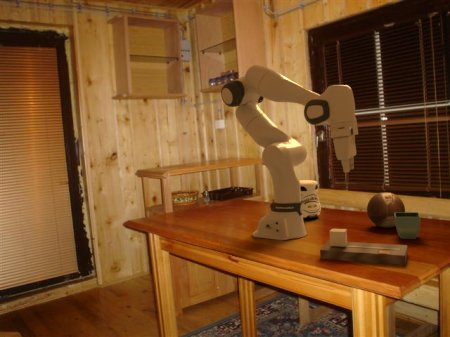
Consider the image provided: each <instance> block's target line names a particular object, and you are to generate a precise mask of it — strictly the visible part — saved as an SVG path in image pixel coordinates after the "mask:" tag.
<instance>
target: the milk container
mask: <svg viewBox="0 0 450 337" xmlns="http://www.w3.org/2000/svg"><path fill="white" fill-rule="evenodd" d="M298 180H299V179H298ZM299 181H300V188H301V201H302V205H303V214H302V216H303V220H311V219H315V218H318V217H319V216H320V215H321V211H322V208H321V203H320V199H319V184H318V181H316V180H314V179H313V180H311V179H309V180H308V179H305V180H303V179H302V180H301V179H300V180H299Z"/></svg>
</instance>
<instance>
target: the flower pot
mask: <svg viewBox="0 0 450 337" xmlns="http://www.w3.org/2000/svg"><path fill="white" fill-rule="evenodd" d="M394 216H395V223H396V226H395V228H396V232H397V234H398V237H400V239H402V240H416V239H417V237H418V236H419V233H420V230H421V229H420V228H421V214H420V212H417V211H416V212H413V211H412V212H411V211H410V212H407V211H405V212H396V213H394Z"/></svg>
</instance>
